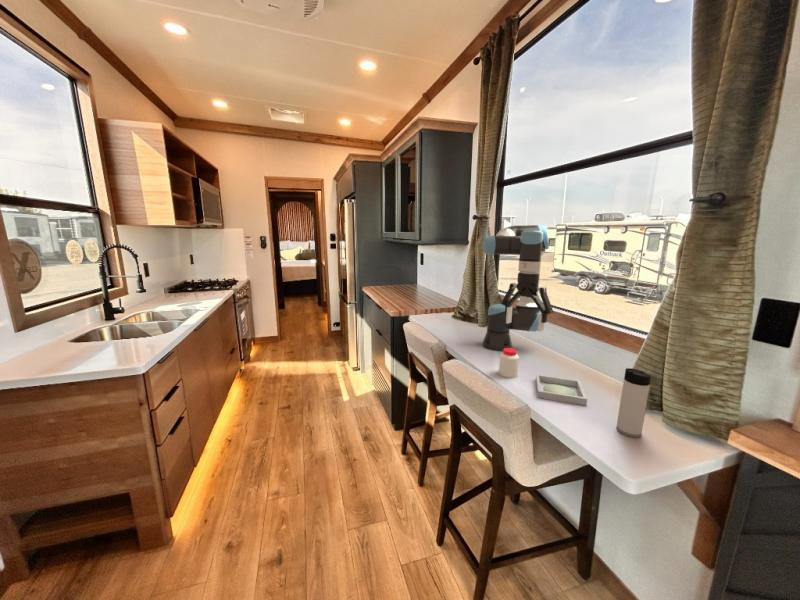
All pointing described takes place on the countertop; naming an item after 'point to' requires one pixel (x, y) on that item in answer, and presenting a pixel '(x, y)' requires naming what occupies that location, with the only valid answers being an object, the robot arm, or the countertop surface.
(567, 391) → the pad
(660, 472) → the countertop surface
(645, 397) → the travel mug
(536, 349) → the countertop surface
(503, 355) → the pill bottle
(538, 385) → the shallow grey tray
